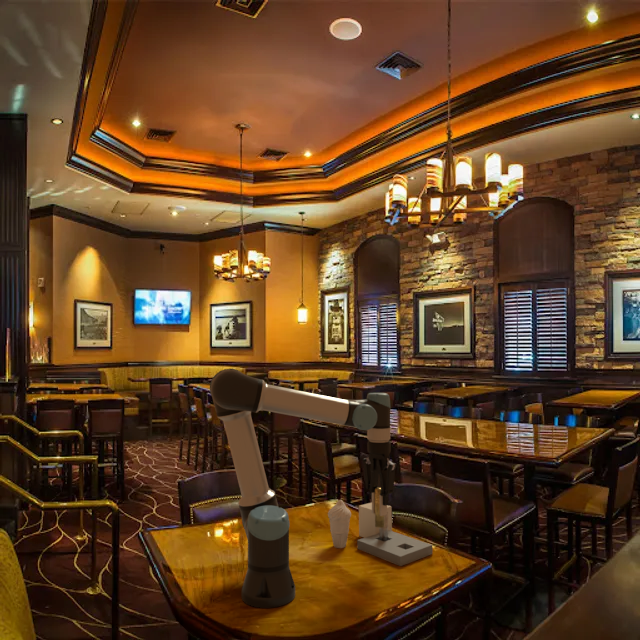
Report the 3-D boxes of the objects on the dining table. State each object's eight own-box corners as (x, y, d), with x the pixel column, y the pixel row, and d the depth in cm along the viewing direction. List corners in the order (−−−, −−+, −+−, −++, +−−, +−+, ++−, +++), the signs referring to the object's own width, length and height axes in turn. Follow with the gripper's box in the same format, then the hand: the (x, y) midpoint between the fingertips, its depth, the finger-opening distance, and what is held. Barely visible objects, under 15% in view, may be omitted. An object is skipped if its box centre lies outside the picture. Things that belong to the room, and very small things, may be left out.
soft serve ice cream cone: (342, 552, 184) (342, 504, 185) (323, 547, 189) (322, 500, 190) (356, 545, 190) (355, 499, 191) (336, 540, 195) (336, 495, 196)
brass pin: (379, 528, 171) (379, 490, 172) (373, 526, 174) (372, 488, 174) (386, 526, 173) (386, 488, 174) (379, 524, 176) (379, 486, 176)
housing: (375, 541, 193) (375, 510, 194) (359, 535, 200) (358, 505, 201) (392, 536, 199) (391, 506, 200) (375, 530, 206) (375, 501, 206)
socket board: (400, 566, 171) (400, 556, 172) (357, 548, 187) (357, 540, 187) (432, 553, 182) (432, 544, 182) (389, 538, 197) (389, 530, 197)
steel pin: (384, 549, 186) (383, 514, 187) (377, 547, 188) (377, 512, 189) (389, 547, 188) (389, 512, 189) (383, 545, 190) (383, 510, 191)
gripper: (405, 442, 171) (405, 517, 170) (369, 436, 184) (370, 506, 182) (388, 445, 167) (389, 522, 165) (353, 438, 179) (354, 510, 177)
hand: (379, 513), depth 174 cm, fingers closed on brass pin, 3 cm apart
